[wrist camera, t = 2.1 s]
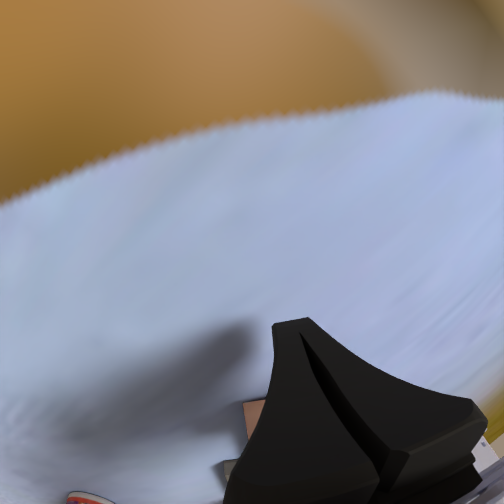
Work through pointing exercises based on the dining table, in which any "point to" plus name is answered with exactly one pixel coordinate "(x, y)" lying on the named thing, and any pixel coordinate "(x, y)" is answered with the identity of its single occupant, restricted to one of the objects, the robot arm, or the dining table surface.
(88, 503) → the pill bottle
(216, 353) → the dining table surface
